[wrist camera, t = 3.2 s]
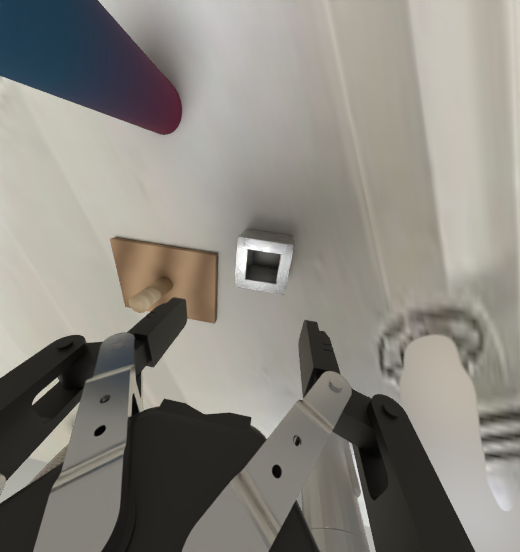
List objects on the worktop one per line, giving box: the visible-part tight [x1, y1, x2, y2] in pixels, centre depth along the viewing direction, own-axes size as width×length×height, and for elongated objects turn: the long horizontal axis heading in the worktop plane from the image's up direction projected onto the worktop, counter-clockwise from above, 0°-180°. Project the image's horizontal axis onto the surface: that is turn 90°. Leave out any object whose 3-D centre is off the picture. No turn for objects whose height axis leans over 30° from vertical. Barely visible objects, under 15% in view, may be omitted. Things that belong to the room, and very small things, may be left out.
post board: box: [110, 237, 218, 323], centre depth 26 cm, size 16×12×7 cm
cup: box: [0, 0, 182, 135], centre depth 13 cm, size 7×7×15 cm
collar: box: [235, 229, 294, 295], centre depth 23 cm, size 6×6×5 cm
